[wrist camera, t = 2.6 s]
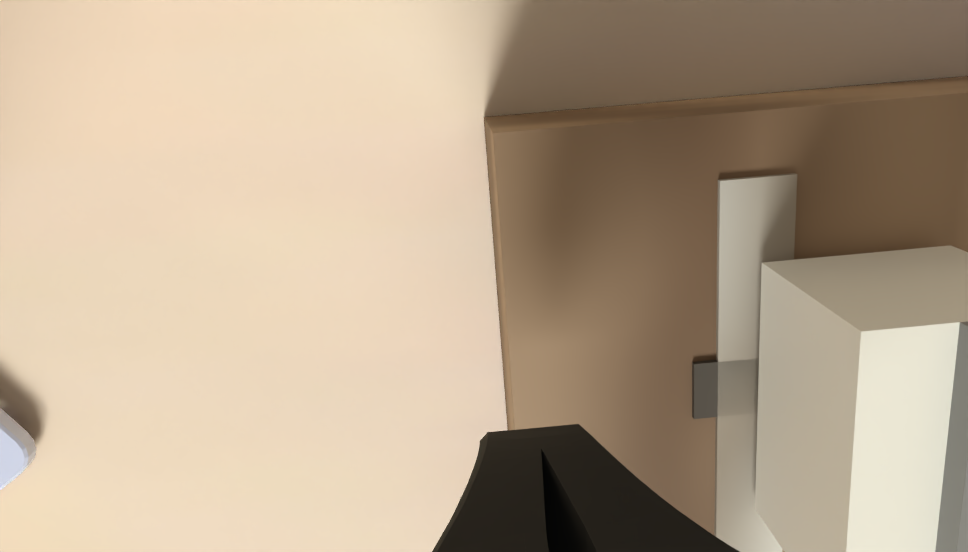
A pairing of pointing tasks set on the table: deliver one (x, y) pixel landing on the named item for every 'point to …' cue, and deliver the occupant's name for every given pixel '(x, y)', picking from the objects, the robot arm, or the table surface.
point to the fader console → (697, 259)
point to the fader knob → (864, 402)
